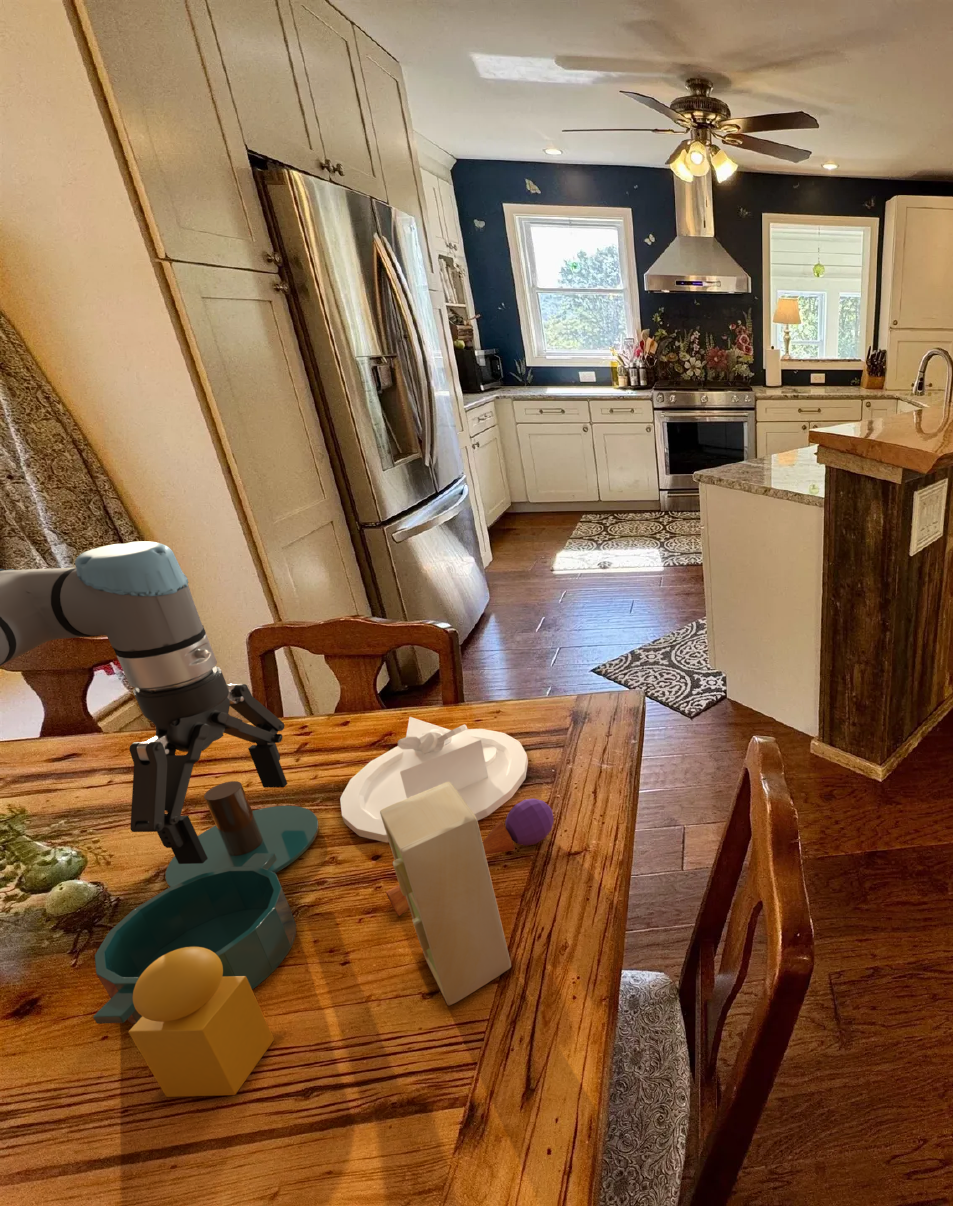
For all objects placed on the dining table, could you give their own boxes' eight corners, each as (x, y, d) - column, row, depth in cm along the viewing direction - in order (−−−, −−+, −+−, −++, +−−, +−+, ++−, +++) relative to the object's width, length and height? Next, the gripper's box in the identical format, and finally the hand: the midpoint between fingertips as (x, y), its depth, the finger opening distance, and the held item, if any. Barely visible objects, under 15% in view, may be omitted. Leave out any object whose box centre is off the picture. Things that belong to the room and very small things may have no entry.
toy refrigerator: (415, 962, 70) (370, 811, 62) (485, 923, 75) (451, 778, 67) (439, 1014, 65) (393, 857, 57) (512, 968, 70) (479, 818, 62)
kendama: (376, 873, 76) (534, 784, 89) (394, 912, 78) (546, 819, 91) (390, 894, 72) (553, 798, 85) (409, 934, 74) (566, 834, 87)
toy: (162, 1101, 57) (98, 992, 52) (213, 1037, 62) (159, 932, 57) (232, 1099, 57) (176, 991, 52) (277, 1036, 63) (230, 931, 57)
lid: (132, 901, 76) (98, 835, 72) (232, 812, 90) (208, 753, 86) (266, 899, 77) (240, 834, 73) (345, 811, 91) (326, 752, 87)
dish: (556, 782, 98) (547, 721, 94) (370, 871, 82) (348, 801, 77) (490, 718, 114) (479, 662, 109) (322, 782, 97) (301, 719, 92)
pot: (49, 1059, 60) (18, 1013, 58) (217, 890, 78) (199, 849, 76) (209, 1055, 61) (185, 1009, 58) (339, 888, 79) (325, 848, 76)
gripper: (107, 739, 62) (186, 899, 71) (286, 629, 85) (329, 759, 93) (25, 740, 62) (114, 901, 70) (227, 629, 85) (276, 760, 93)
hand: (237, 820), depth 82 cm, fingers open, 13 cm apart
